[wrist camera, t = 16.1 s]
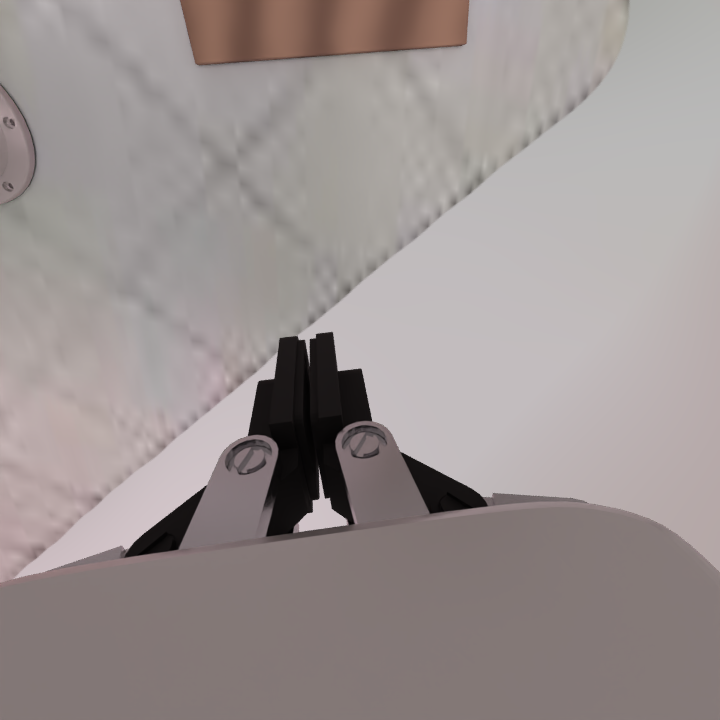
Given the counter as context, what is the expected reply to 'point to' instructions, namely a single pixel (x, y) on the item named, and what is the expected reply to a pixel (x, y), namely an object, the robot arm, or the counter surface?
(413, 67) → the counter surface
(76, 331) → the counter surface
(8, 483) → the counter surface
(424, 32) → the walnut board
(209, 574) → the robot arm
